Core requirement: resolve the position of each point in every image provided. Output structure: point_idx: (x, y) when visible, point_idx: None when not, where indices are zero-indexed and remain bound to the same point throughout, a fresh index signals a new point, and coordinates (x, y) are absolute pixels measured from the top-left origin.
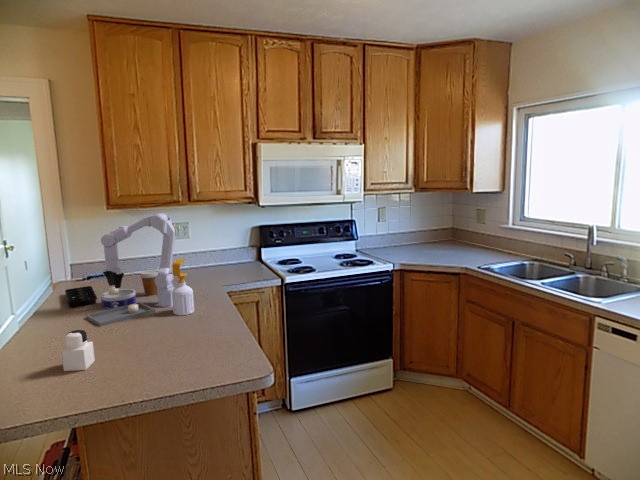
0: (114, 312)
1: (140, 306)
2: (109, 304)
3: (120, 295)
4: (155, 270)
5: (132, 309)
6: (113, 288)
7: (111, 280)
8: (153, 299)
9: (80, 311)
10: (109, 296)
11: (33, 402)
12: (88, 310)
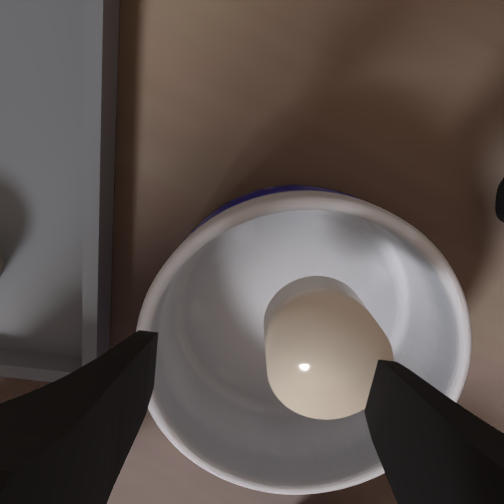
0: (76, 159)
1: (62, 356)
2: (226, 205)
3: None
4: None
5: None
6: (278, 346)
7: (405, 447)
8: (188, 492)
9: (416, 7)
10: (432, 320)
11: None
12: (374, 72)
